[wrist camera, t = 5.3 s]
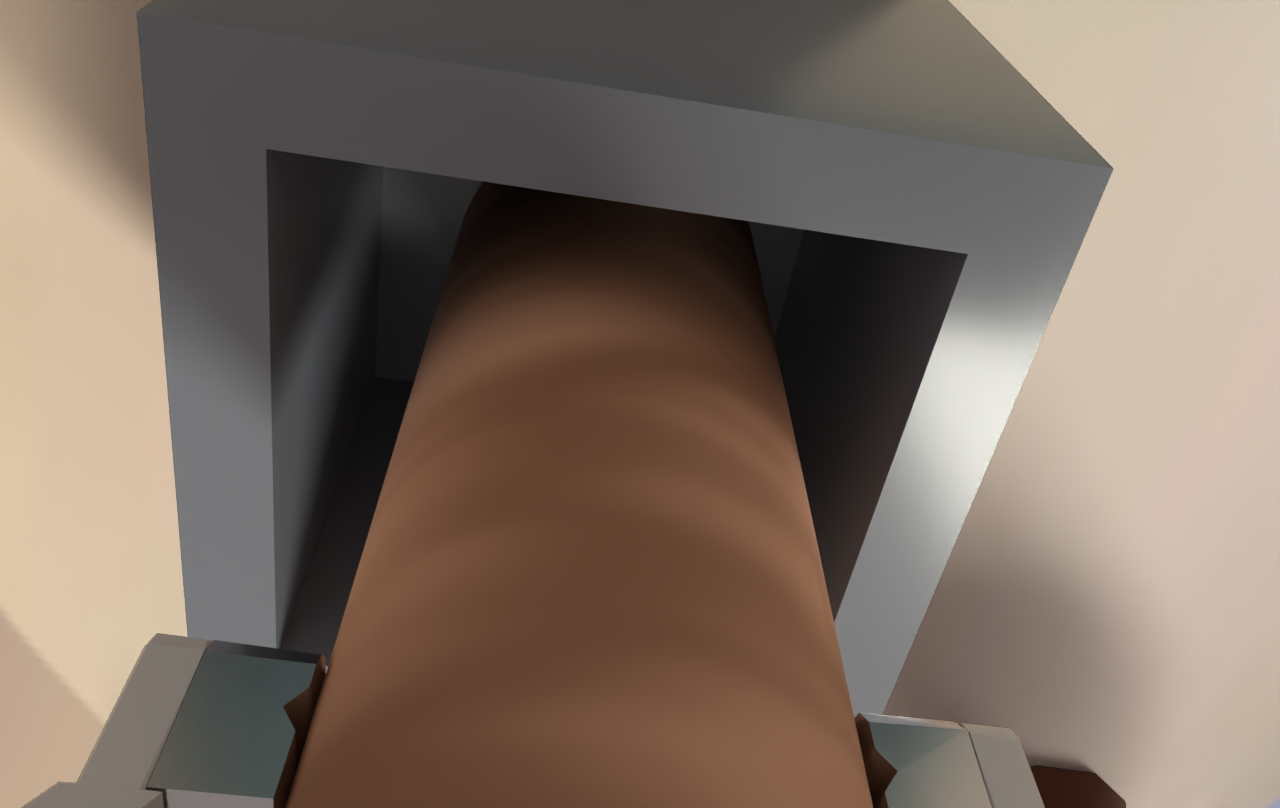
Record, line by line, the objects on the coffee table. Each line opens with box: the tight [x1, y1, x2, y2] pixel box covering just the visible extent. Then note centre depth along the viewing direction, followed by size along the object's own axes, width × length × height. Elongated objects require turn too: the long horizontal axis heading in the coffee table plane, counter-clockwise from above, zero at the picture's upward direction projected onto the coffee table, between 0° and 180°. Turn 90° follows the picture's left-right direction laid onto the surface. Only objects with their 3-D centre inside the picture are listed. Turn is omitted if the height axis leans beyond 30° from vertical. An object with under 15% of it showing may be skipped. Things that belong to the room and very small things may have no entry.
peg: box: [286, 182, 873, 808], centre depth 13 cm, size 5×5×13 cm
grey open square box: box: [137, 0, 1113, 717], centre depth 17 cm, size 10×10×8 cm
